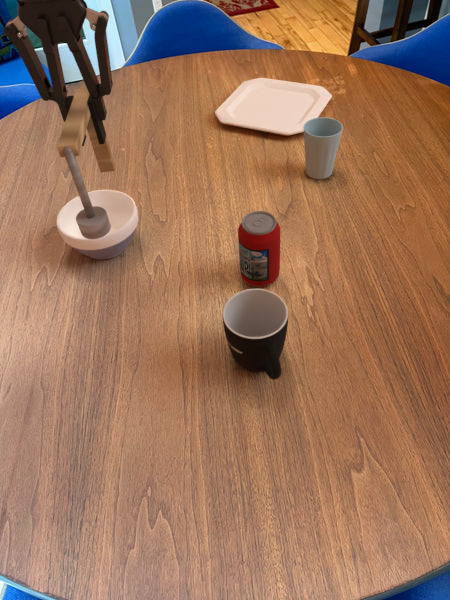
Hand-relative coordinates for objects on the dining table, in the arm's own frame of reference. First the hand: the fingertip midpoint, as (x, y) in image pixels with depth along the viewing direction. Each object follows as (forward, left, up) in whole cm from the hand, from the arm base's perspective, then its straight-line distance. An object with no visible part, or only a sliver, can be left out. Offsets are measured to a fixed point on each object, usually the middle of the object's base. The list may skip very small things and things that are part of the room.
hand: (92, 140), depth 73 cm
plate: (+34, +47, -23) cm, 63 cm away
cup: (+40, +19, -23) cm, 50 cm away
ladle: (0, -5, -7) cm, 9 cm away
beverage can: (+24, -10, -23) cm, 35 cm away
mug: (+22, -28, -23) cm, 42 cm away
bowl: (-4, +2, -23) cm, 23 cm away
